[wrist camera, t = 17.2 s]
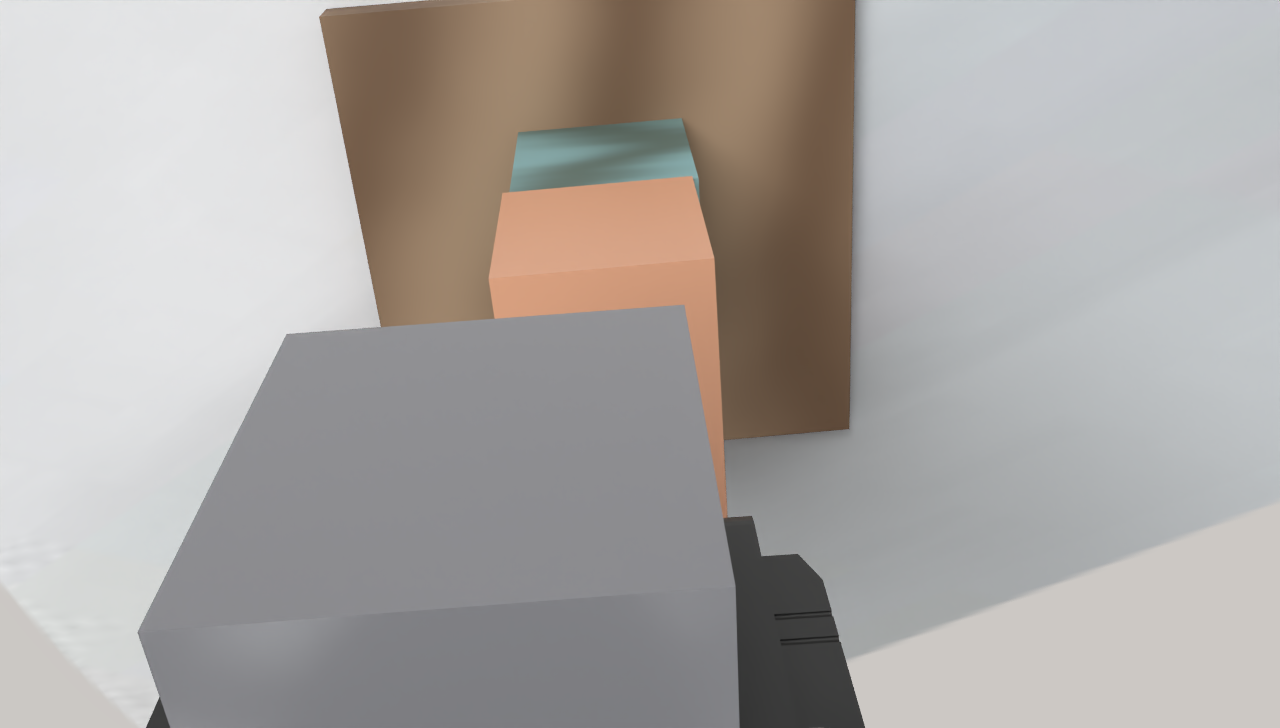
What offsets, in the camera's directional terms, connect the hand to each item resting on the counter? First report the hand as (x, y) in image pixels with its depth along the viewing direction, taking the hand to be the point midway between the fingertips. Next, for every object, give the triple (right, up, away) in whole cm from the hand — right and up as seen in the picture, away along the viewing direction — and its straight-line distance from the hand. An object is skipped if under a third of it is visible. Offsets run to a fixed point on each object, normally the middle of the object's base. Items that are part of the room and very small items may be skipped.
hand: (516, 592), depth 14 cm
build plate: (+1, +7, +20) cm, 21 cm away
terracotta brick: (+1, +4, +15) cm, 15 cm away
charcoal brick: (0, 0, 0) cm, 1 cm away
